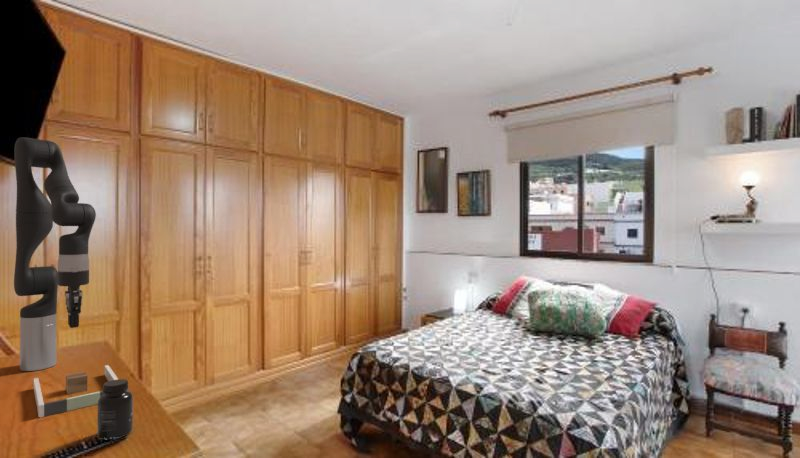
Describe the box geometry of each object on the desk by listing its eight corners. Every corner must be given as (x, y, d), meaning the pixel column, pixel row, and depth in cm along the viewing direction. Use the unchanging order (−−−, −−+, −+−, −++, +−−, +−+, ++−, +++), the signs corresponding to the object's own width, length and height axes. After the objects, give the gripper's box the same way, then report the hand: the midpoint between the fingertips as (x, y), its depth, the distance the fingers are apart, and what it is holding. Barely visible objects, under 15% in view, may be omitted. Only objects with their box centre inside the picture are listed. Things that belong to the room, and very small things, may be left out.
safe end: (66, 409, 109) (66, 398, 109) (99, 402, 114) (99, 391, 114) (66, 411, 108) (66, 399, 108) (99, 403, 113) (100, 392, 113)
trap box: (33, 388, 122) (33, 378, 122) (108, 374, 135) (108, 364, 134) (38, 417, 105) (38, 405, 105) (123, 397, 117) (124, 387, 117)
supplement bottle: (139, 431, 99) (139, 380, 99) (109, 444, 93) (109, 390, 93) (121, 424, 102) (121, 375, 102) (90, 437, 96) (90, 385, 96)
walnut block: (65, 390, 122) (65, 374, 122) (85, 386, 125) (85, 371, 125) (67, 395, 119) (67, 379, 119) (87, 390, 122) (87, 375, 122)
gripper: (55, 267, 130) (55, 323, 130) (60, 272, 119) (59, 332, 120) (85, 266, 135) (85, 320, 135) (92, 270, 125) (92, 328, 125)
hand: (73, 325), depth 127 cm, fingers open, 3 cm apart
